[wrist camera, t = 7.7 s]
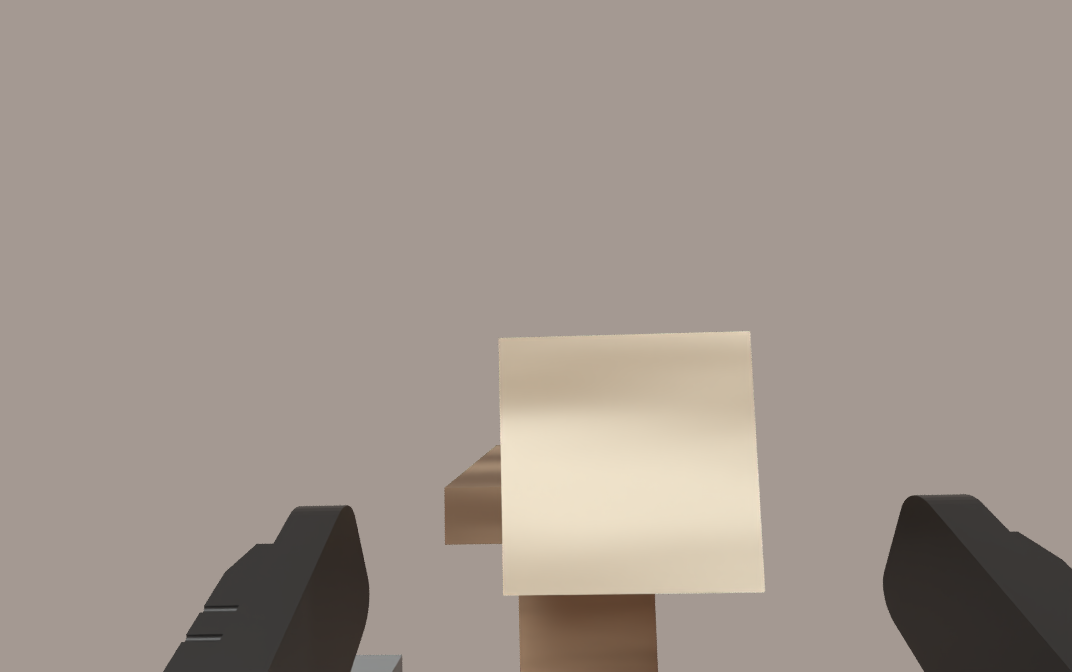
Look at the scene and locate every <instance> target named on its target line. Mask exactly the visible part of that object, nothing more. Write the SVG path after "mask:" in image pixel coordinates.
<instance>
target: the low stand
mask: <svg viewBox="0 0 1072 672" xmlns="http://www.w3.org/2000/svg"><path fill="white" fill-rule="evenodd" d="M351 672H402V655H356V656H355V660H354V663H353V666H352V669H351Z"/></svg>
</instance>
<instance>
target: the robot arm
mask: <svg viewBox="0 0 1072 672" xmlns="http://www.w3.org/2000/svg"><path fill="white" fill-rule="evenodd" d="M883 590H884V596H885V601H886V605H887V607H888V610H889V613H890V615H891V618H892V619H893V621H894V623H895V625H896V626H897V628H898V630H899V631H900V633H901V635H902V636H903V638H904V639H905V641H906V643H907V644H908V646H909V648H910V649H911V651H912V652H913V654H914V656H915V657H916V659H917V660H918V662H919V664H920V666H921V667H922V669H923V670H924V672H1072V569H1071V568H1070V567H1069V566H1068V565H1067V564H1066V563H1065V562H1064V561H1063V560H1062V559H1060V558H1059V557H1057V556H1055V555H1054V554H1052V553H1051V552H1049V551H1048V550H1046V549H1044V548H1043V547H1041V546H1040V545H1038V544H1037V543H1035V542H1033V541H1032V540H1030V539H1029V538H1027V537H1026V536H1024V535H1022V534H1021V533H1019V532H1010V531H1009V530H1008V529H1007V528H1006V527H1005V526H1004V525H1003V524H1002V523H1001V522H1000V521H999V520H998V519H997V518H996V517H995V516H994V515H993V514H992V513H991V512H990V511H989V510H988V509H987V508H986V507H985V506H984V505H983V504H982V503H981V502H980V501H979V500H978V499H976V498H975V497H973V496H970V495H966V494H960V495H914V496H910V497H908V498H907V499H906V500H905V501H904V503H903V505H902V508H901V512H900V515H899V519H898V523H897V526H896V530H895V534H894V537H893V542H892V545H891V549H890V552H889V556H888V560H887V564H886V568H885V571H884V576H883ZM368 608H369V582H368V576H367V572H366V567H365V562H364V557H363V553H362V548H361V543H360V538H359V533H358V528H357V524H356V519H355V515H354V512H353V510H352V508H351V507H350V506H348V505H344V506H299V507H296V508H295V509H294V510H293V511H292V512H291V514H290V515H289V517H288V519H287V521H286V522H285V524H284V526H283V528H282V530H281V532H280V533H279V535H278V537H277V539H276V540H275V542H274V544H256V545H255V546H254V547H253V548H252V549H251V550H249V551H248V552H247V553H246V554H245V555H244V556H243V557H242V558H241V559H239V560H238V561H237V562H236V563H235V564H234V565H233V566H232V567H230V568H229V569H228V570H227V571H226V572H225V573H224V575H223V577H222V578H221V580H220V581H219V583H218V584H217V586H216V588H215V589H214V591H213V593H212V594H211V596H210V597H209V599H208V601H207V602H206V604H205V605H204V612H203V613H199V615H198V617H197V618H196V620H195V621H194V623H193V625H192V626H191V628H190V629H189V631H188V633H187V634H186V635H187V638H186V641H185V642H181V644H180V646H179V647H178V649H177V650H176V652H175V654H174V655H173V657H172V659H171V660H170V662H169V663H168V665H167V666H166V668H165V670H164V671H163V672H351V669H352V666H353V663H354V660H355V656H356V653H357V650H358V647H359V644H360V641H361V637H362V634H363V631H364V628H365V625H366V620H367V614H368Z"/></svg>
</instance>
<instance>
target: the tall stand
mask: <svg viewBox="0 0 1072 672" xmlns="http://www.w3.org/2000/svg"><path fill="white" fill-rule="evenodd" d="M447 544H449V545H450V544H502V493H501V445H496V446H495V447H494V448H493V449H491V450H490V451H489V452H488V453H486V454H485V455H484V456H483V457H482V458H480V459H479V460H478V461H477V462H476V463H474V464H473V465H472V466H471V467H469V468H468V469H467V470H466V471H465V472H463V473H462V474H461V475H460V476H458V477H457V478H456V479H455V480H454V481H452V482H451V483H450V484H449V485H448V486H446V487H445V545H447ZM519 629H520V672H658V662H657V640H656V639H657V637H656V613H655V594H593V595H519Z"/></svg>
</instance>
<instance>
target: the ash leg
mask: <svg viewBox="0 0 1072 672" xmlns="http://www.w3.org/2000/svg"><path fill="white" fill-rule="evenodd" d="M499 380H500V381H499V382H500V436H501V493H502V546H503V547H502V548H503V595H504V596H509V595H510V596H511V595H593V594H669V593H742V592H744V593H747V592H765V582H764V566H763V565H764V564H763V547H762V530H761V513H760V495H759V479H758V461H757V445H756V427H755V410H754V393H753V376H752V358H751V341H750V331H744V332H743V331H742V332H705V333H672V334H671V333H668V334H632V335H596V336H558V337H523V338H499Z"/></svg>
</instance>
